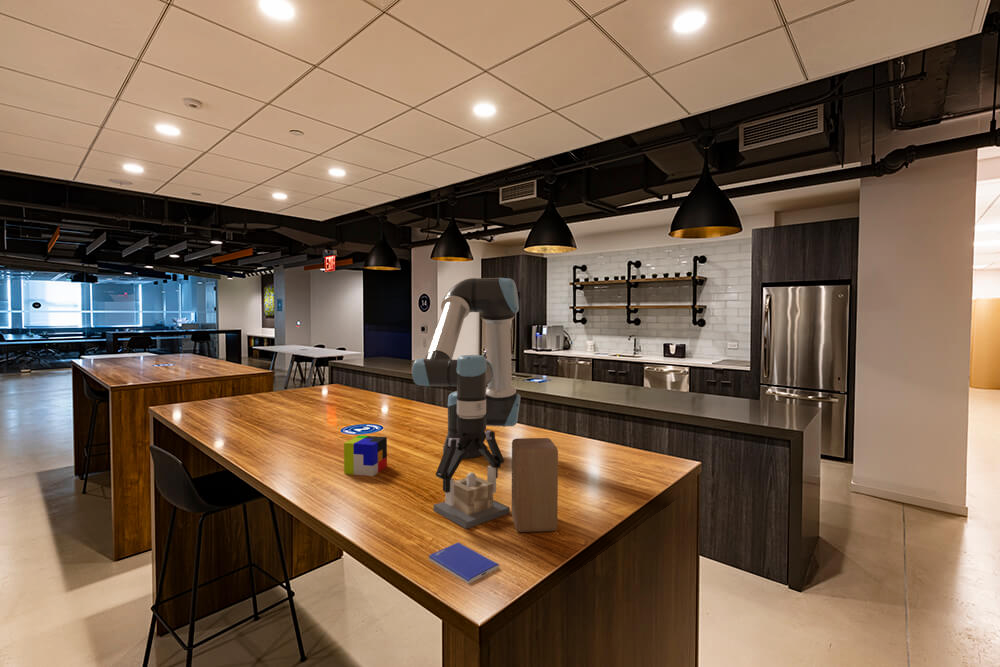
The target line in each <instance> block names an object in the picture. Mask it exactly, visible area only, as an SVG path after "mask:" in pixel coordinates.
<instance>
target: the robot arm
mask: <svg viewBox="0 0 1000 667" xmlns="http://www.w3.org/2000/svg"><path fill="white" fill-rule="evenodd" d="M440 309H441V313H440V317H439V319H438V322H437V325H436V328H435V330H434V333H433V336H432V338H431V342H430V344H429V346H428V350H427V352H426V355H425V358H423V357H422V358H417V359H415V360H414V362H413V364H412V368H411V376H412V380H413V383H414V384H415V385H417V386H423V387H424V386H425V387H456V390H455V391H453V392H451V393H450V394H449V395H448V397H447V405H446V406H447V435H446V436H445V440H444V443H443V444H444V445H443V448H442V453H443V454H442V457H441V459H440V462H439V463H438V467H437V469H436V471H435V472H436V473H435V477H437V478H439V479H441V480H442V491H443V492H444V493H445V494H444V495H445V496H444V502H445V503H446V504H448V505H450V506H454V481H455V479H454V478H453V476H454V474H455V473H456V472H457V469H458V468H459V466H460V464H461V462H462V461H463V459H473V458H477V457H480V456H483V457H484V459H485V460H486V461H487V462H488V464H489V465H487V467H486V468H487V470H486V471H487V475H486V476H487V480H486V481H488V482H490V483H493V494H495V493H497V479H498V477H499V476H498V475H499V472H498V471H499V469H500V468H501V466H502V465H501V464H504V463H505V462H504V461H505V459H504V457H503V455H502V453H501V450H500V448H499V445H498V443H497V441H496V434H495V433H496V432H495V431H493V430H490V429H487V427H503V428H505V427H514V426H516V425H517V423H518V420H519V419H518V418H519V412H520V404H521V395H520V394H519V393H517V389H516V387H515V386H513V385H512V384H513V382H512V381H513V380H512V378H513V377H512V375H513V374H512V343H511V342H512V341H511V339H512V338H511V336H512V335H511V334H512V333H511V322H512V320H514V318H515V314H517V313H518V312H519V310H520V303H519V294H518V288H517V285H516V282H515V280H514V279H512V278H506V277H483V278H482V277H480V278H478V277H477V278H475V277H474V278H473V277H472V278H471V277H470V278H466V279H463V280H461V281H459V282H458V283H456V284H455V285H453V286H452V287H450V289H449V290H448V291H447V292H446V294H445V295H444V297H443V299H442V301H441V306H440ZM470 313H480V318H481V320H482V321H483V322H485V335H486V336H485V337H486V341H485V343H486V344H485V345H486V357H485V356H484V355H480V354H465V355H459V356H458V358H457V359H454V354H455V350H456V347H457V343H458V341H459V340H458V339H459V337H460V333H461V331H462V326H463V324H464V320H465V319H466V318H467V316H469V315H470ZM485 440H486V442H487V445H488V447H489V449H490V450H489V449H488V447H487V445H486V444H485ZM490 451H491V452H490Z"/></svg>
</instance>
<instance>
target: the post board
mask: <svg viewBox="0 0 1000 667" xmlns="http://www.w3.org/2000/svg"><path fill="white" fill-rule="evenodd" d="M476 477H477V476H476V474H475V473H474V472H468V473H467V475H466V478H467V486H468V487H473V486H476ZM432 507H433V511H434V512H435V513H438V515H440V516H442V517H444V518H446V519H448V520H449V521H451V522H453V523H455V524H456V525H458V526H460V527H461V528H463V529H465V530H467V529H470V528H472V527H475V526H478V525H480V524H484V523H486V522H489V521H491V520H494V519H497V518H500V517H503V516H506V515H508V514H510V512H511V511H510V507H509V506H508V505H506V504H503V503H501V502H500V501H497V500H495V499H493V507H491V508H488V509H485V510H482V511H479V512H476V513H473V514H470V515H467V514H465V513H463V512H461V511H459V510H457V509H456V508H454V507H452V506H450V505H448V504H446V503H445V501H442V502H438V503H435V504H433V506H432Z"/></svg>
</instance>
